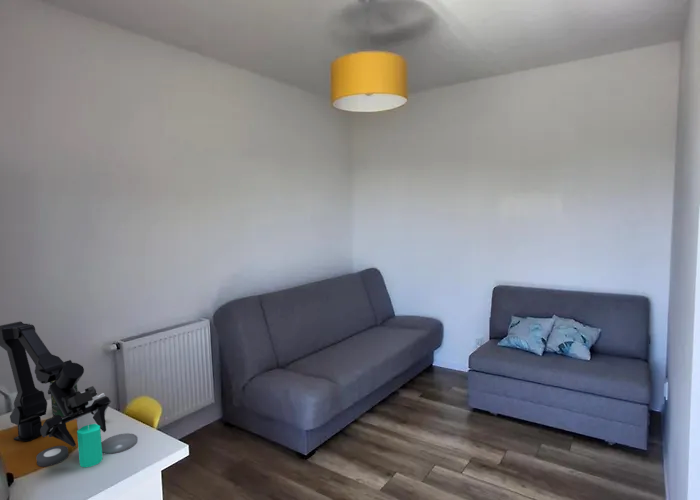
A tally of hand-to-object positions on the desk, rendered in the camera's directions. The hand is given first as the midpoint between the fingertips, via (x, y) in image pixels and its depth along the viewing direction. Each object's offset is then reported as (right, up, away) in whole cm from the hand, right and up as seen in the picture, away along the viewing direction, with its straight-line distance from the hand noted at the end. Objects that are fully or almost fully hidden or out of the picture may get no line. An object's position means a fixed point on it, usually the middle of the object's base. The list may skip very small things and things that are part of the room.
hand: (90, 438), depth 130 cm
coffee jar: (-30, -5, +34) cm, 46 cm away
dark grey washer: (-13, -8, +3) cm, 15 cm away
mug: (-13, -6, +23) cm, 27 cm away
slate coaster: (+3, -6, +10) cm, 13 cm away
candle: (0, -8, +1) cm, 8 cm away
